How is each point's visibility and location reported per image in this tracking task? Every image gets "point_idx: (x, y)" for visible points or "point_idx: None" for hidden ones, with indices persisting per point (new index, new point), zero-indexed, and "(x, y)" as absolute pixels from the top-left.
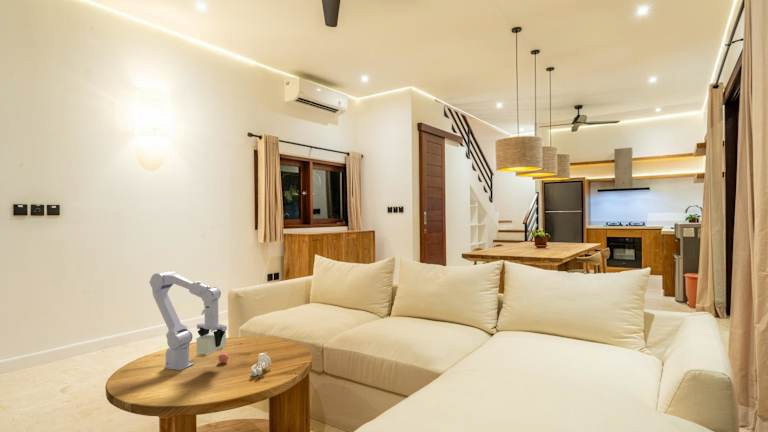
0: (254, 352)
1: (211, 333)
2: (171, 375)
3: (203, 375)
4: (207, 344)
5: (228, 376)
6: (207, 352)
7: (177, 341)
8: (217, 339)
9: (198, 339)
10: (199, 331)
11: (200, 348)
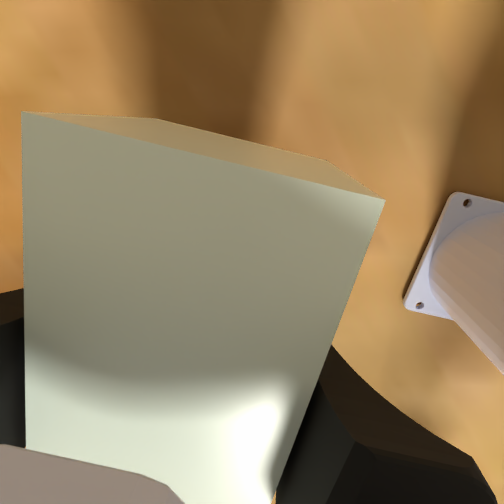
0: None
1: (210, 490)
2: (492, 88)
3: (232, 99)
4: (105, 119)
5: (36, 88)
6: (157, 119)
7: None
8: (5, 293)
9: (320, 180)
10: (425, 465)
11: (269, 152)
